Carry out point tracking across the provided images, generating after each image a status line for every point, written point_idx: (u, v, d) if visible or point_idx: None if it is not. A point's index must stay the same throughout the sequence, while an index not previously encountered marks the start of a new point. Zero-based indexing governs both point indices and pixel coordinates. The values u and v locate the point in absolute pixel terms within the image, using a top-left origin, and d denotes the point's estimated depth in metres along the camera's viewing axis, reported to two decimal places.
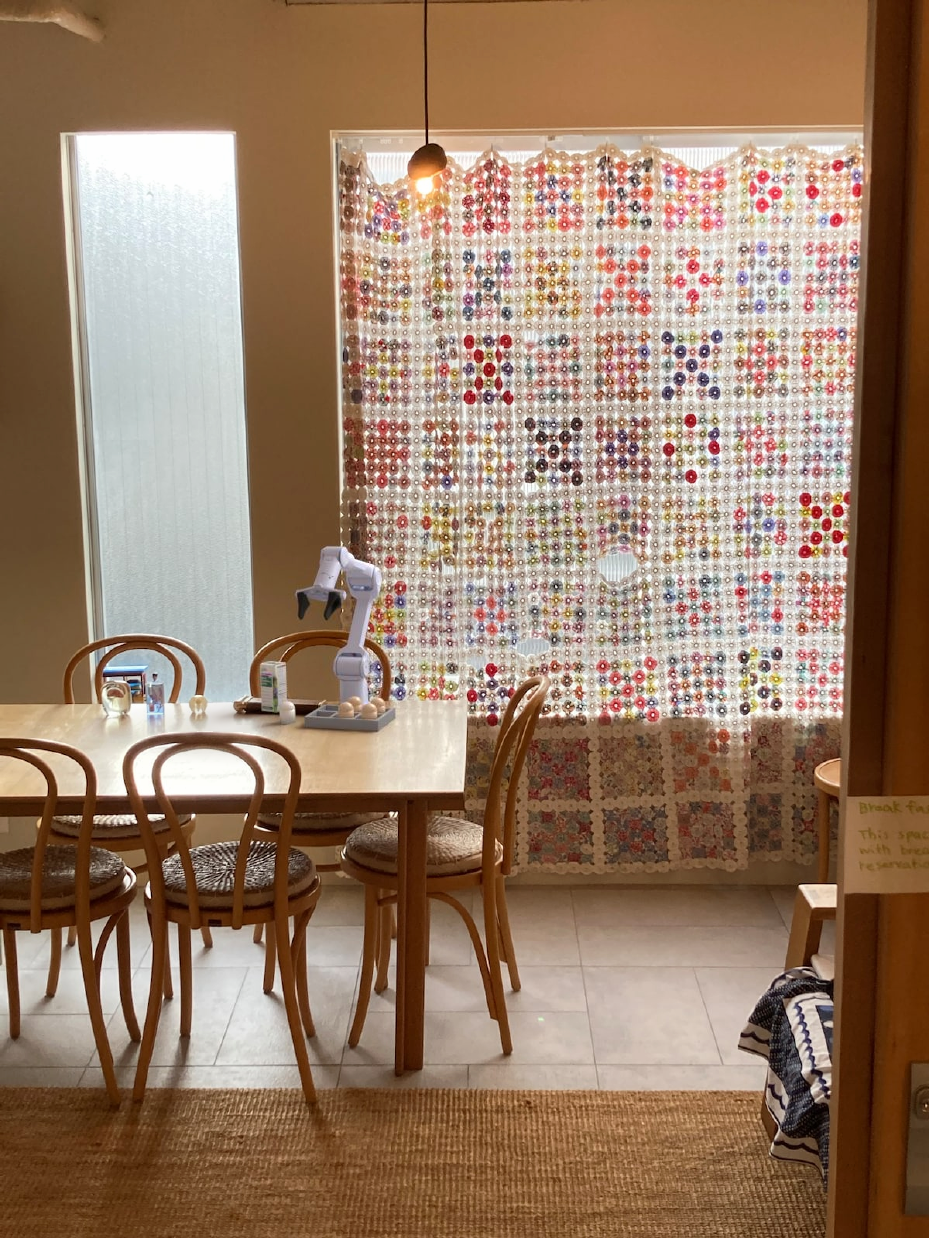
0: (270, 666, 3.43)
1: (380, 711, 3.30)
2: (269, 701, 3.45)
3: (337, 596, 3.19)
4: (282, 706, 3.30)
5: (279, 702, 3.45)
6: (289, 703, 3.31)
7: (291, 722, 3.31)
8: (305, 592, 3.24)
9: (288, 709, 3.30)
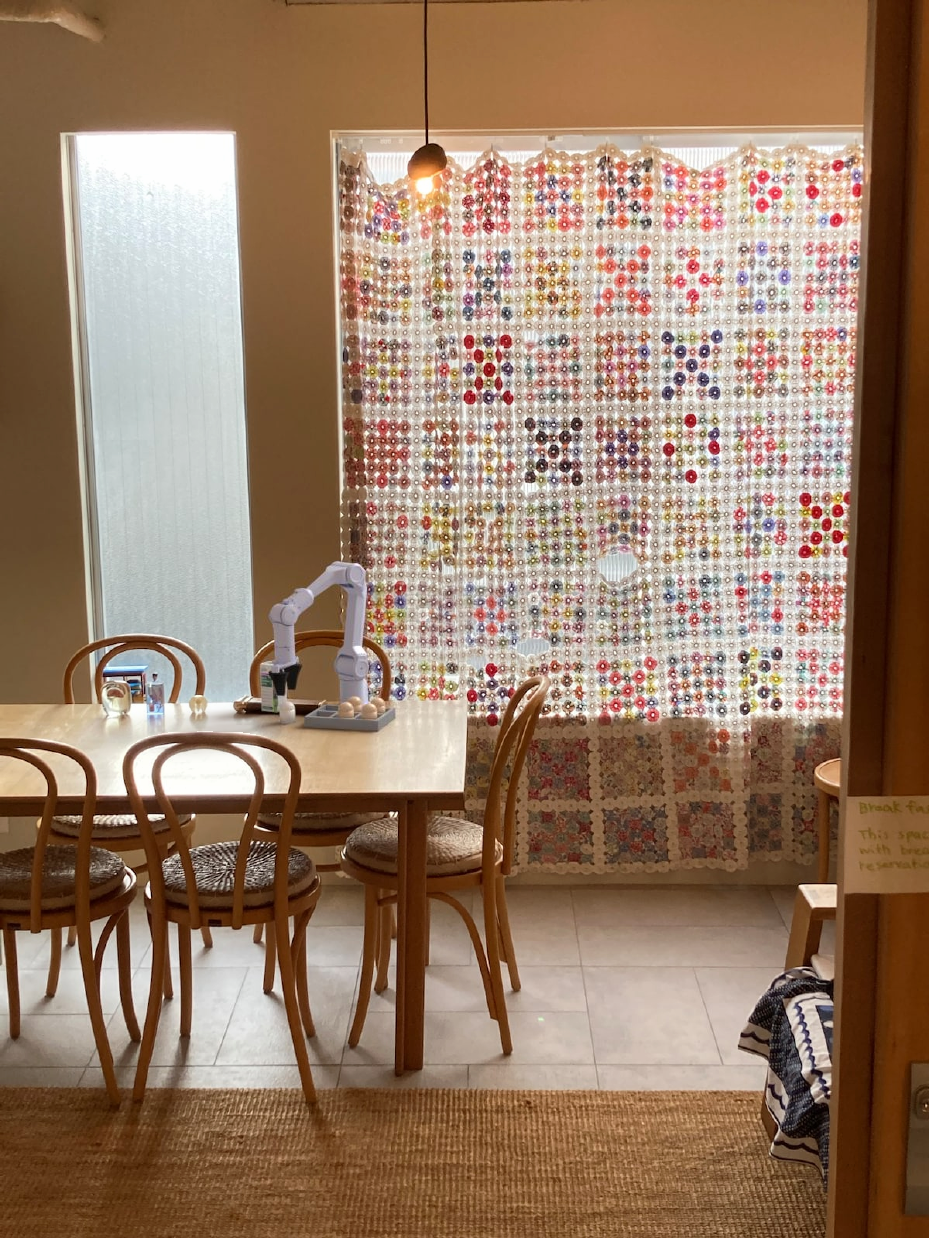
0: (270, 666, 3.43)
1: (380, 711, 3.30)
2: (269, 701, 3.45)
3: (271, 674, 3.25)
4: (282, 706, 3.30)
5: (279, 702, 3.45)
6: (289, 703, 3.31)
7: (291, 722, 3.31)
8: None
9: (288, 709, 3.30)
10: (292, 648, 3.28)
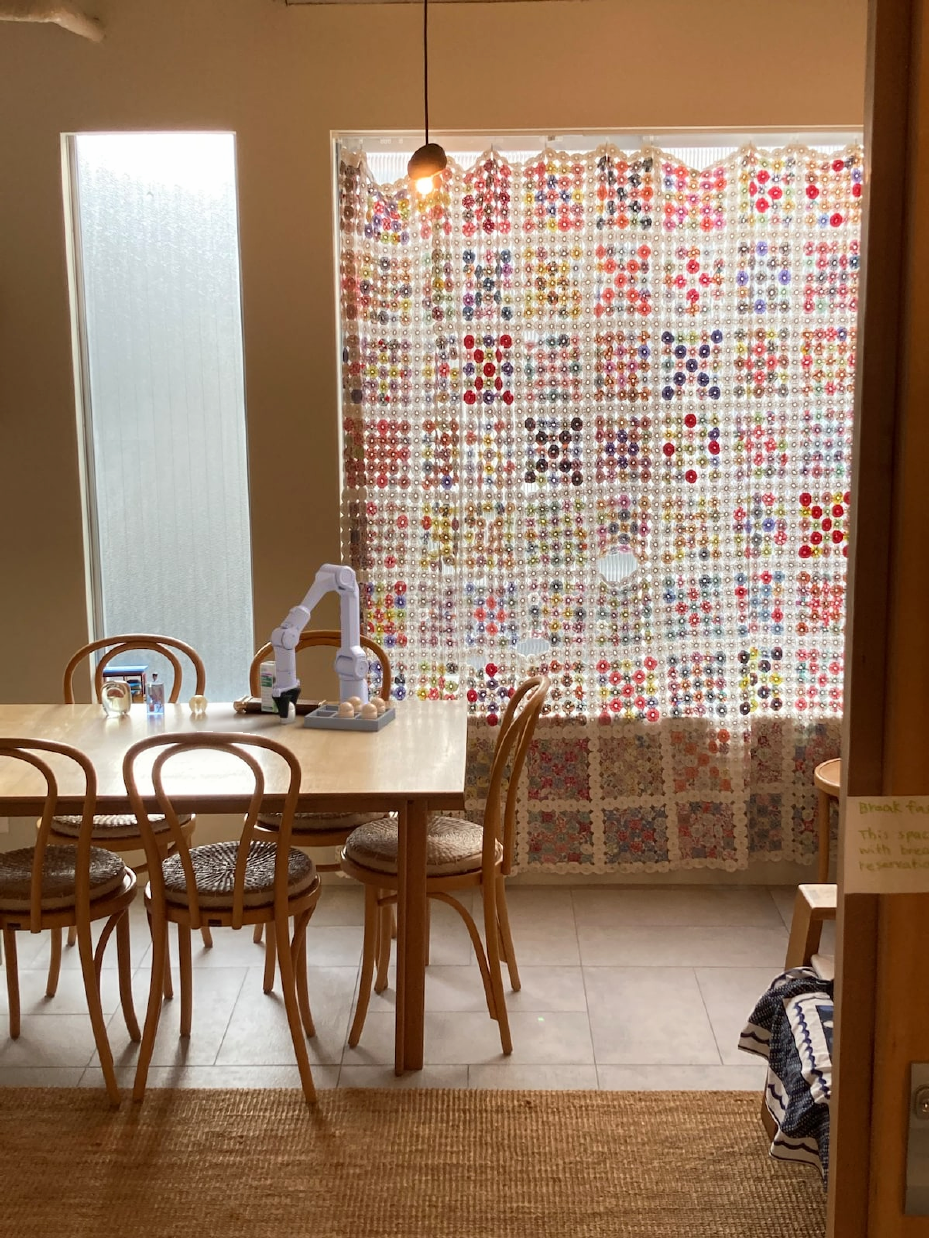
0: (270, 666, 3.43)
1: (380, 711, 3.30)
2: (269, 701, 3.45)
3: (274, 697, 3.27)
4: None
5: None
6: (289, 703, 3.31)
7: (291, 722, 3.31)
8: None
9: None
10: (293, 672, 3.29)
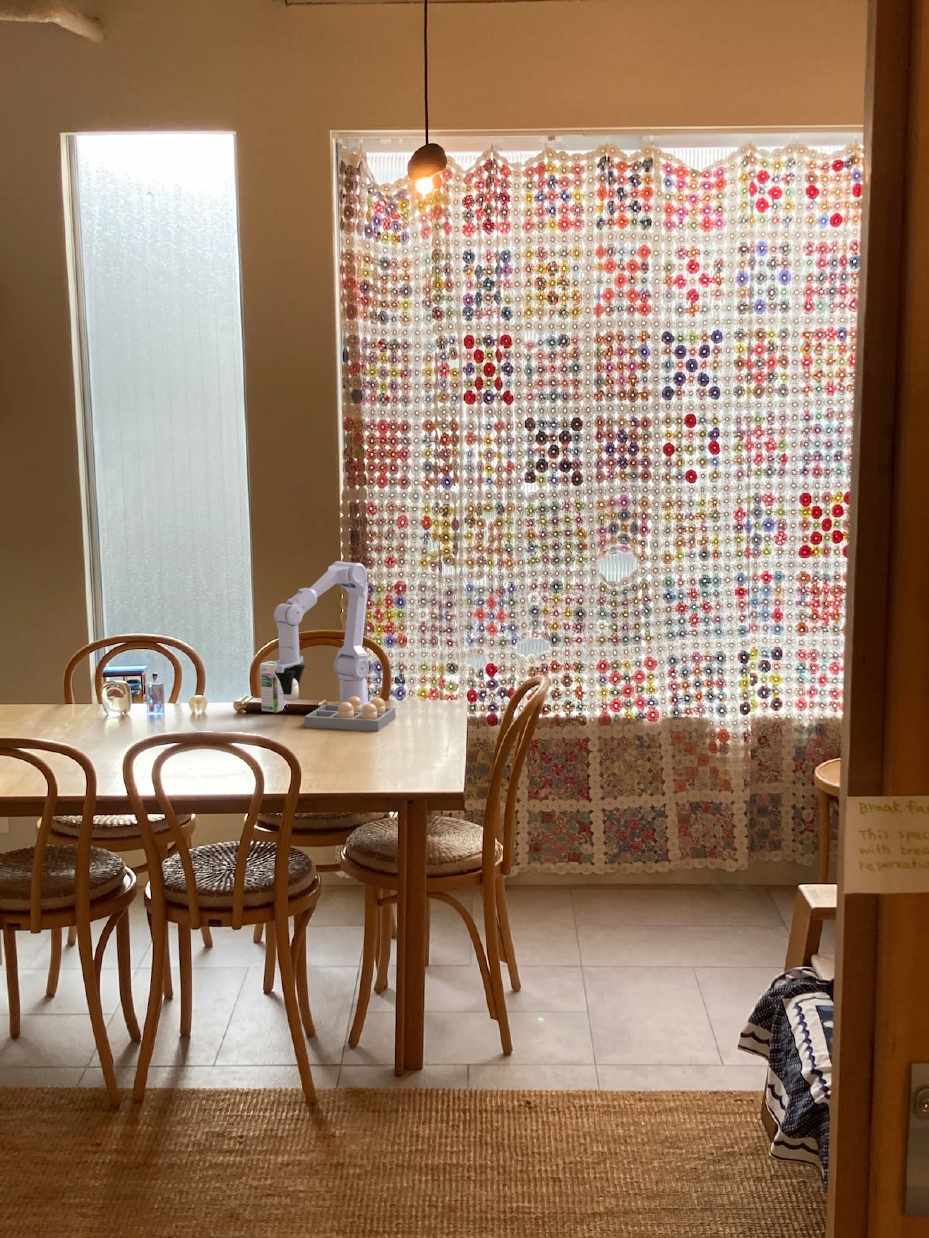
0: (270, 666, 3.43)
1: (380, 711, 3.30)
2: (269, 701, 3.45)
3: (278, 673, 3.26)
4: None
5: (279, 702, 3.45)
6: None
7: (294, 699, 3.30)
8: None
9: None
10: (296, 648, 3.27)
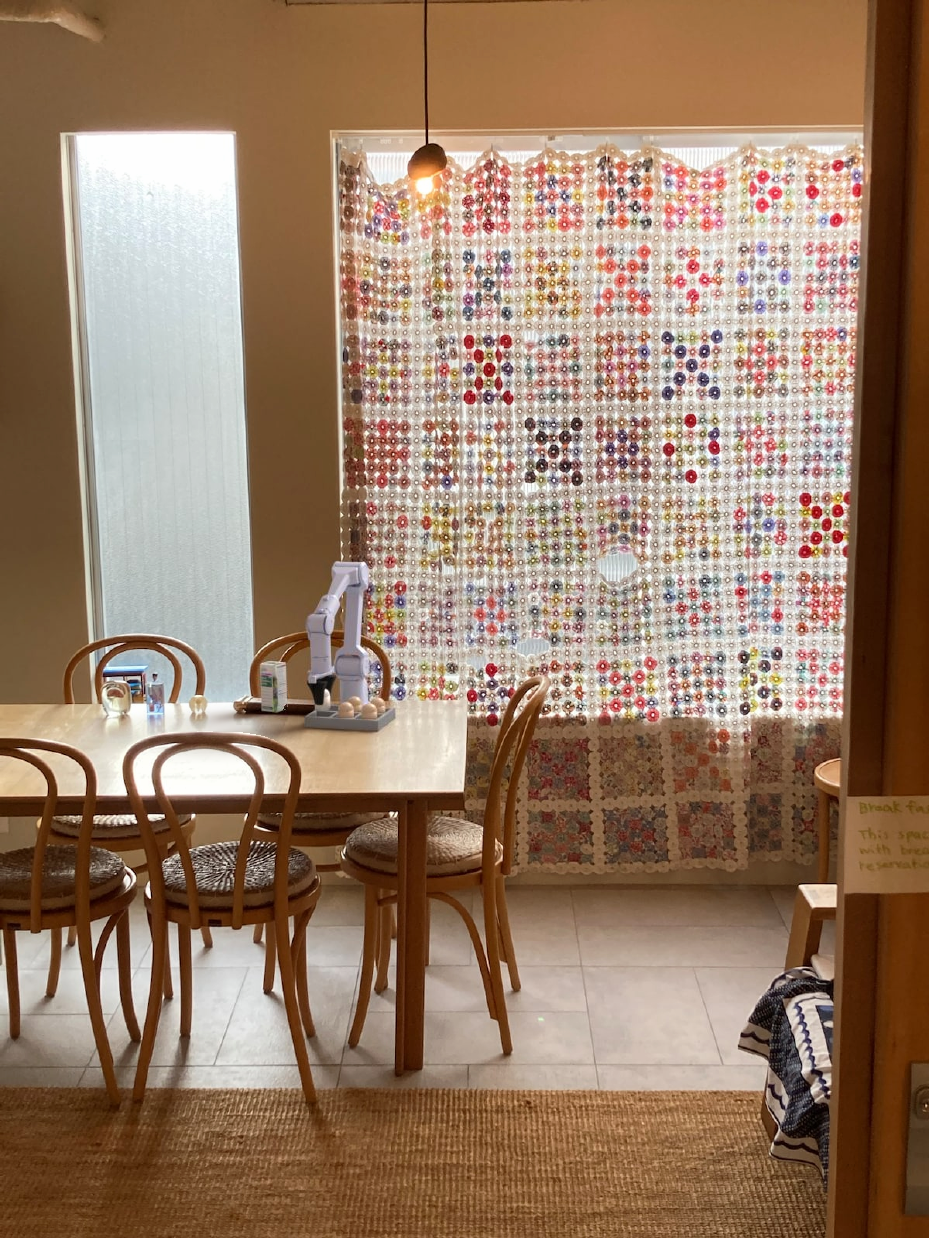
0: (270, 666, 3.43)
1: (380, 711, 3.30)
2: (269, 701, 3.45)
3: (310, 683, 3.24)
4: None
5: (279, 702, 3.45)
6: None
7: (326, 709, 3.27)
8: None
9: None
10: (328, 658, 3.25)
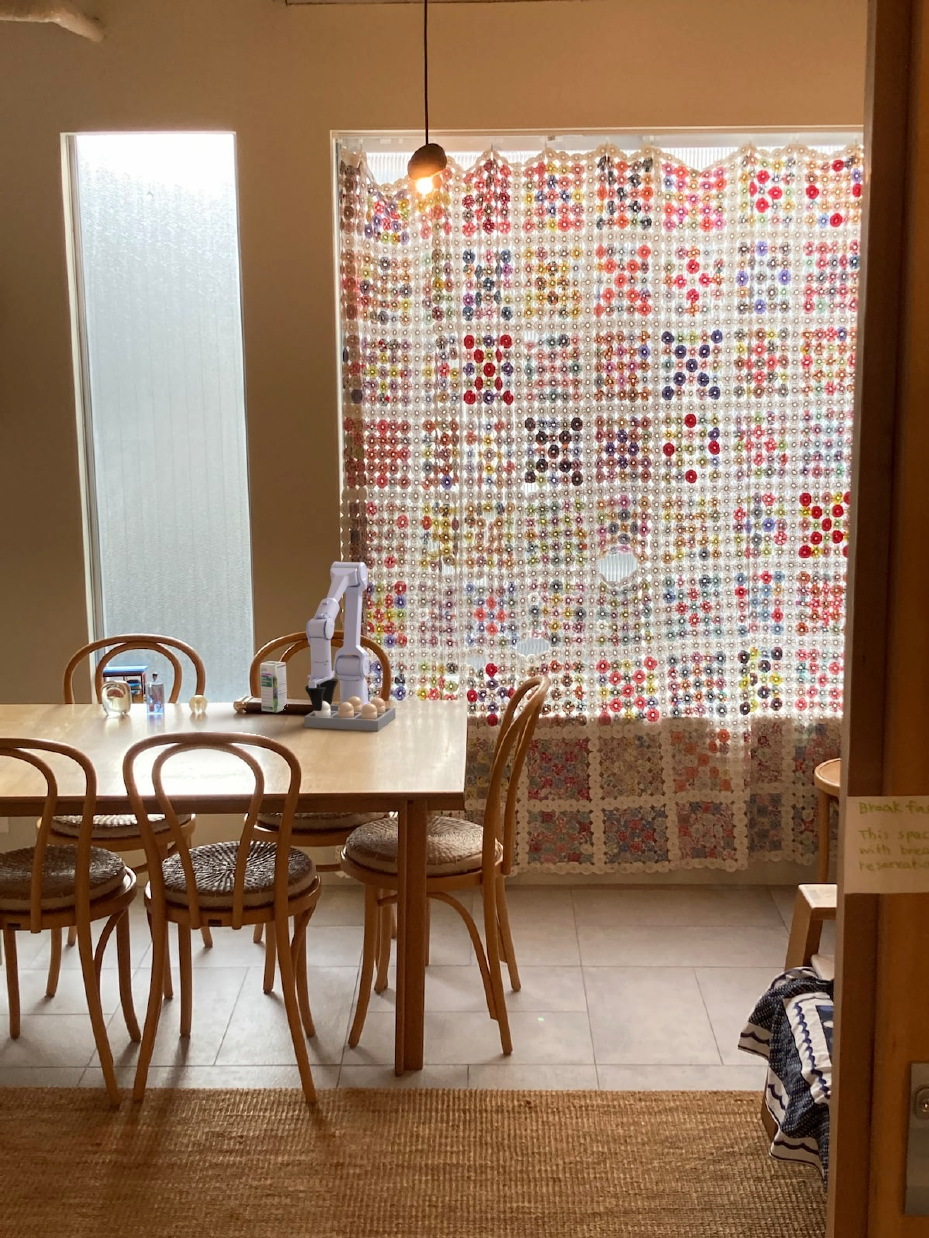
0: (270, 666, 3.43)
1: (380, 711, 3.30)
2: (269, 701, 3.45)
3: (308, 689, 3.23)
4: None
5: (279, 702, 3.45)
6: (325, 703, 3.28)
7: None
8: None
9: (324, 709, 3.27)
10: (329, 663, 3.26)
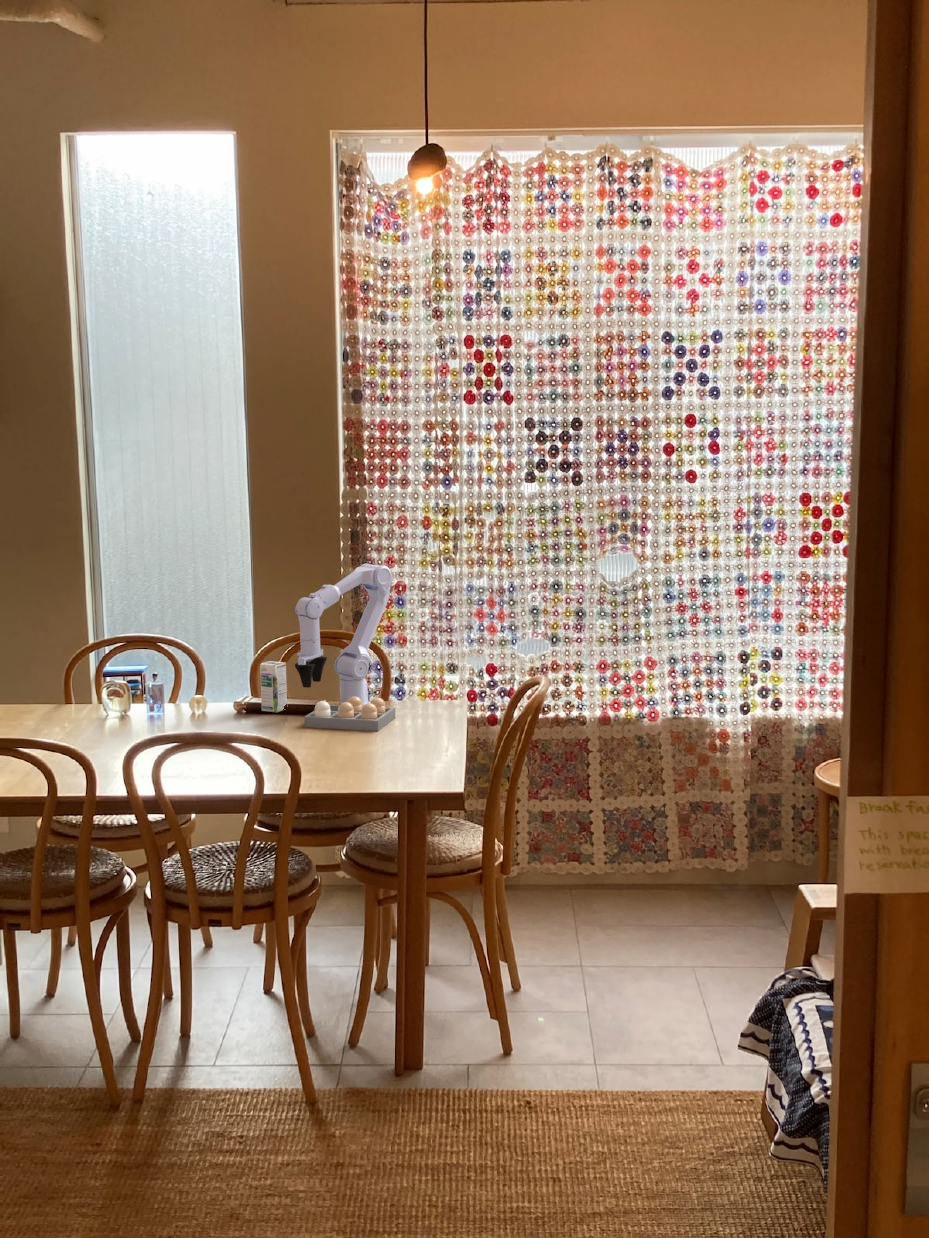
0: (270, 666, 3.43)
1: (380, 711, 3.30)
2: (269, 701, 3.45)
3: (298, 666, 3.32)
4: (318, 706, 3.27)
5: (279, 702, 3.45)
6: (324, 703, 3.28)
7: None
8: None
9: (324, 709, 3.27)
10: (318, 641, 3.35)
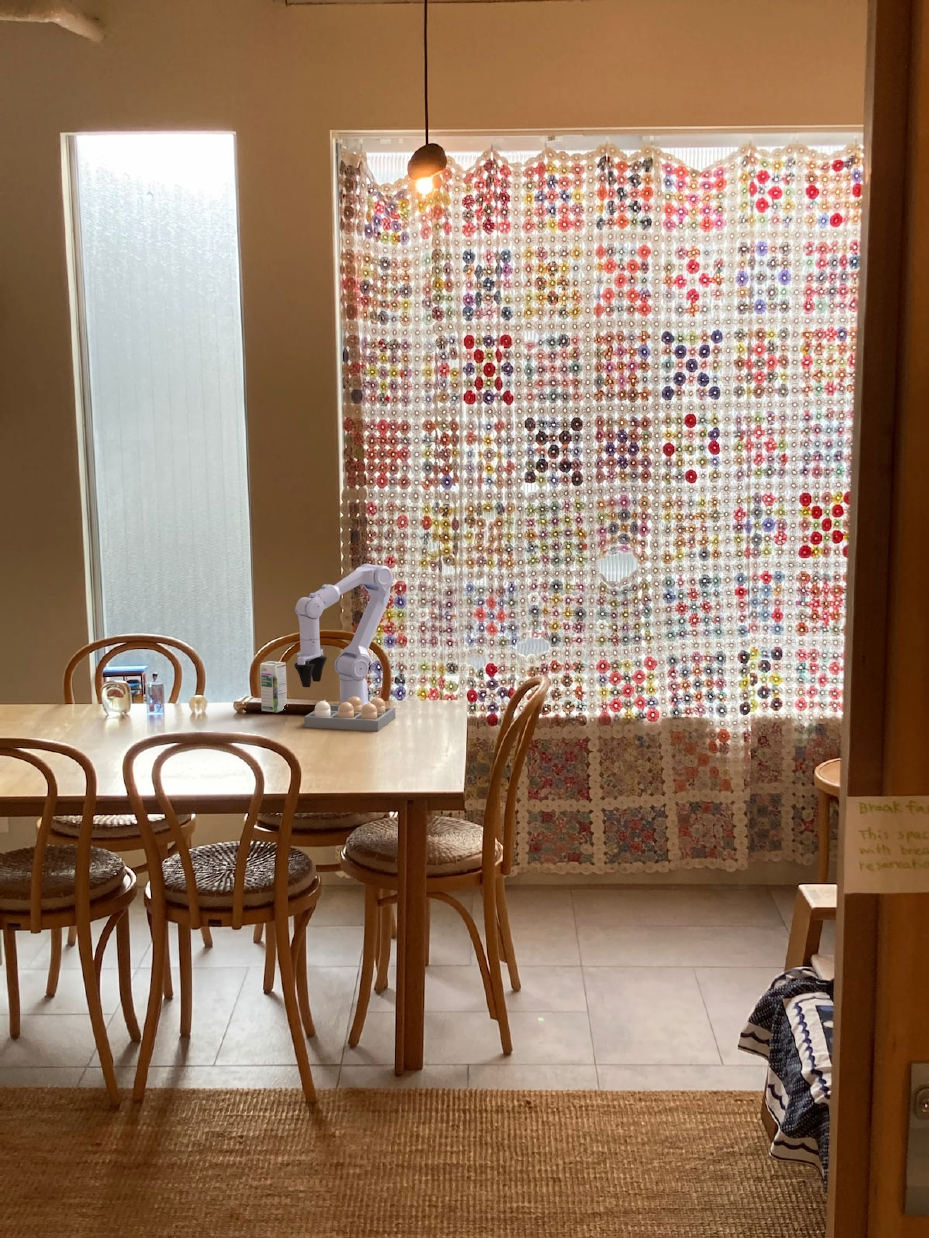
0: (270, 666, 3.43)
1: (380, 711, 3.30)
2: (269, 701, 3.45)
3: (297, 666, 3.32)
4: (318, 706, 3.27)
5: (279, 702, 3.45)
6: (325, 703, 3.28)
7: None
8: None
9: (324, 709, 3.27)
10: (317, 641, 3.35)
